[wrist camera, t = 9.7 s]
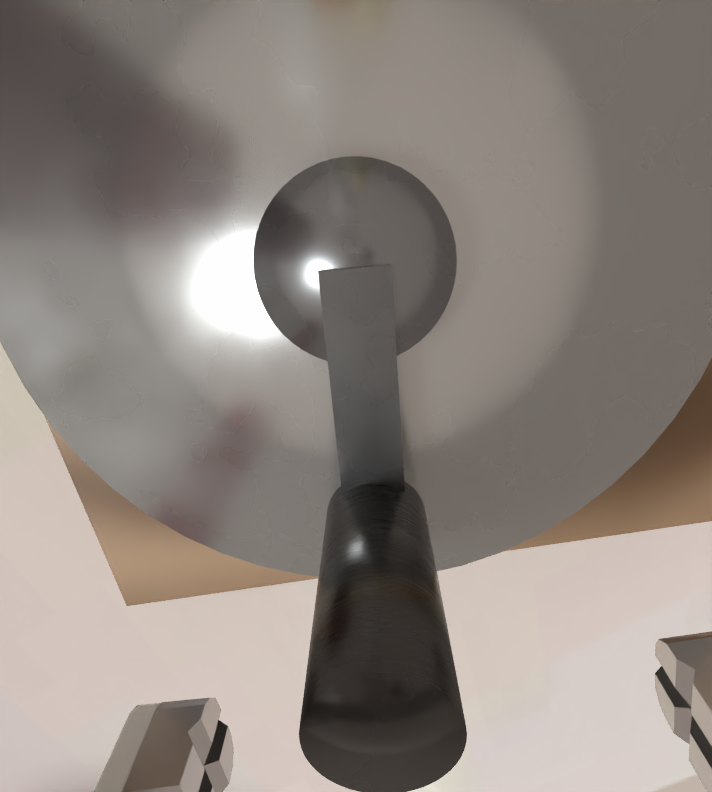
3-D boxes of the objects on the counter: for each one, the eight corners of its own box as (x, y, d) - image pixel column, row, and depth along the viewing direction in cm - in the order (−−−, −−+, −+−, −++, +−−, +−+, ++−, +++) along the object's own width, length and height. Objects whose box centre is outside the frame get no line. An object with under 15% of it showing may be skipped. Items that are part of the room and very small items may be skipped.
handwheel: (-128, -162, 12) (-1174, -928, 4) (799, -280, 11) (2024, -1640, 3) (100, 569, 19) (-96, 843, 11) (674, 536, 18) (925, 810, 10)
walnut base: (-86, -64, 15) (-189, -124, 12) (700, -276, 13) (790, -403, 11) (156, 555, 23) (126, 606, 20) (681, 475, 21) (729, 518, 18)
